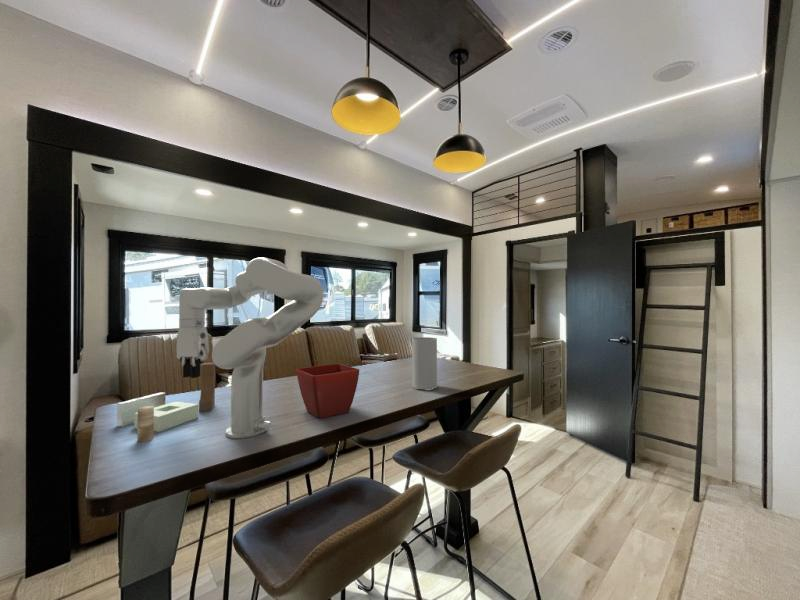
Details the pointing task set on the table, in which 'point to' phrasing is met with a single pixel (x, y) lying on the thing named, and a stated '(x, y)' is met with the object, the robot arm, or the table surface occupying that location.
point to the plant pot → (328, 388)
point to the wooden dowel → (145, 424)
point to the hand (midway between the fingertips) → (191, 376)
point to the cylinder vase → (424, 362)
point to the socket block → (172, 415)
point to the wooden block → (207, 387)
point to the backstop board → (136, 407)
